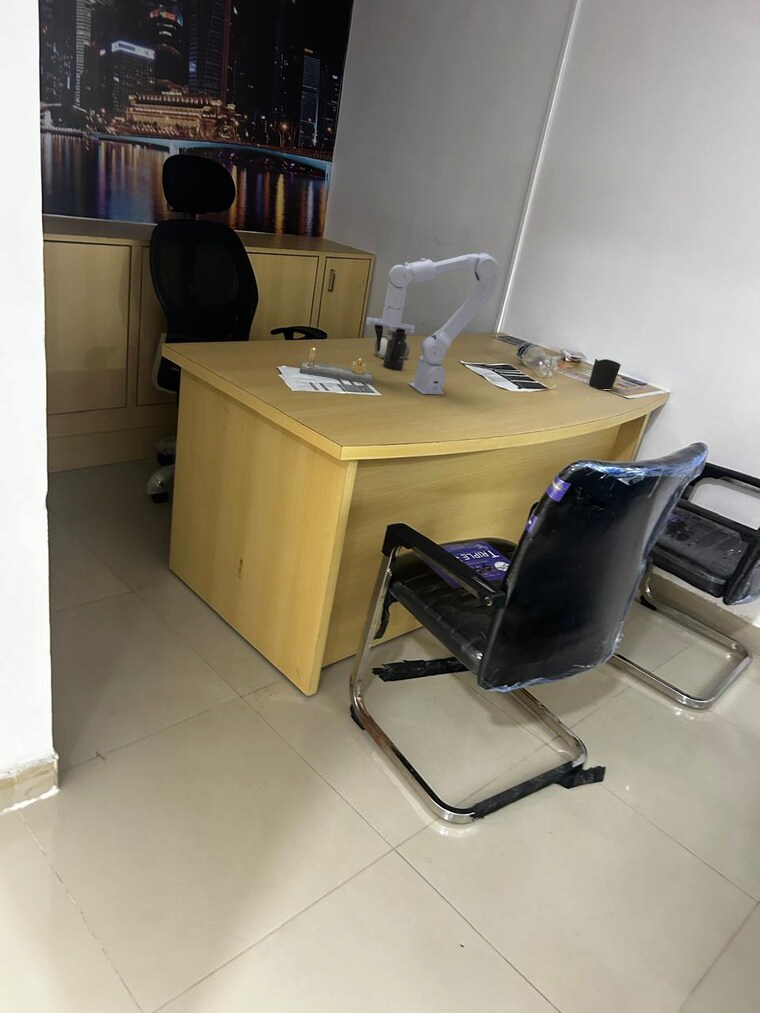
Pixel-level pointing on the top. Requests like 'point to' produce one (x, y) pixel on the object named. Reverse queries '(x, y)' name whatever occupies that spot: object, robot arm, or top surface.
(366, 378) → the bolt plate
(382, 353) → the pipe fitting
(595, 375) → the pen holder
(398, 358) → the supplement bottle
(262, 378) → the top surface
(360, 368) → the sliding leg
